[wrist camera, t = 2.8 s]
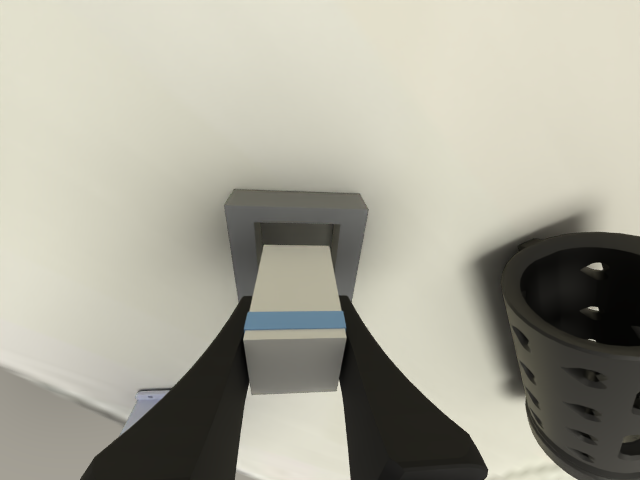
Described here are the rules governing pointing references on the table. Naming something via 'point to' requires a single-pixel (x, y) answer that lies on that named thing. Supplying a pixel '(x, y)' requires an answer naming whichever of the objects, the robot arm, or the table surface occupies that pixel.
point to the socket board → (294, 208)
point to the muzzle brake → (580, 349)
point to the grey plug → (294, 322)
